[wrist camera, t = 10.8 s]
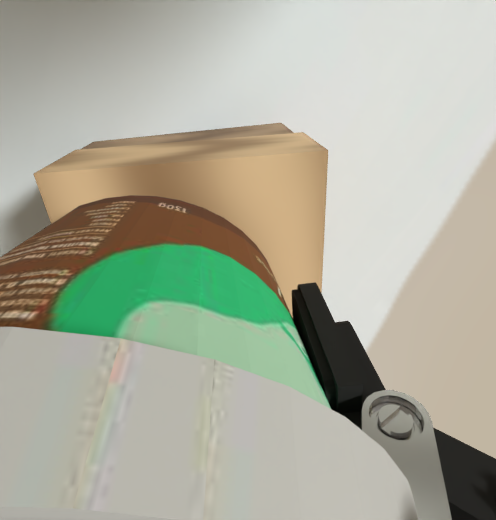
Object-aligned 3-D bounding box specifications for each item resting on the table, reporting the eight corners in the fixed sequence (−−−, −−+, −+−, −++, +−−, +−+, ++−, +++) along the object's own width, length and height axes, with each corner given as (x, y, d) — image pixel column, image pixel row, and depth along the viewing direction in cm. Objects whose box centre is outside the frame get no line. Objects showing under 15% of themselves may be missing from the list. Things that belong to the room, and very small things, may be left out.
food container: (337, 377, 16) (495, 772, 7) (208, 415, 16) (202, 828, 7) (252, 83, 10) (633, 260, 1) (51, 159, 10) (-953, 742, 1)
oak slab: (303, 132, 16) (328, 150, 12) (300, 312, 20) (317, 362, 17) (75, 150, 15) (33, 173, 12) (127, 329, 20) (108, 384, 17)
